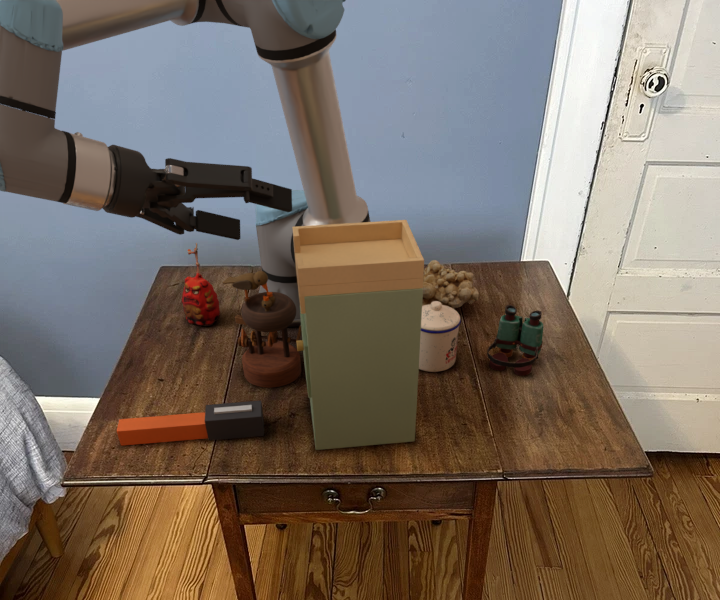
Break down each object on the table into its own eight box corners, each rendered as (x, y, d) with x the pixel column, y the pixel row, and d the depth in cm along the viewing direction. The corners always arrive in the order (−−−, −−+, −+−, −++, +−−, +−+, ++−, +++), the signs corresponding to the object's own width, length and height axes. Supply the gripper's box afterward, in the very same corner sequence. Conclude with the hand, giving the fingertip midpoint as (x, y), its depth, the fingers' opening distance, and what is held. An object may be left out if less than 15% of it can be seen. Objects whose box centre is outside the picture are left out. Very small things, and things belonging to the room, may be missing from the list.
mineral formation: (429, 284, 149) (493, 296, 142) (400, 319, 142) (465, 334, 136) (426, 251, 143) (492, 262, 136) (395, 286, 136) (464, 300, 130)
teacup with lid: (455, 375, 123) (461, 317, 115) (405, 371, 124) (407, 314, 116) (458, 340, 132) (464, 285, 124) (411, 337, 133) (414, 282, 125)
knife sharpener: (124, 431, 112) (117, 409, 109) (263, 419, 114) (260, 398, 111) (120, 448, 109) (113, 426, 106) (264, 435, 111) (261, 414, 108)
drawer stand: (301, 399, 118) (286, 226, 97) (400, 391, 120) (406, 219, 99) (306, 451, 108) (290, 269, 87) (414, 441, 109) (424, 260, 89)
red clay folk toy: (178, 324, 138) (163, 253, 128) (196, 308, 143) (182, 238, 132) (211, 330, 136) (198, 258, 126) (228, 314, 141) (217, 243, 130)
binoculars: (485, 328, 116) (503, 297, 122) (481, 377, 124) (497, 345, 130) (537, 339, 113) (552, 307, 119) (529, 388, 121) (544, 355, 127)
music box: (229, 388, 121) (213, 279, 109) (242, 359, 130) (228, 255, 117) (314, 390, 120) (307, 280, 108) (321, 361, 129) (316, 256, 116)
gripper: (144, 99, 69) (315, 155, 83) (72, 180, 89) (220, 215, 102) (146, 174, 70) (316, 217, 83) (74, 238, 89) (221, 265, 102)
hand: (263, 216), depth 93 cm, fingers open, 13 cm apart
